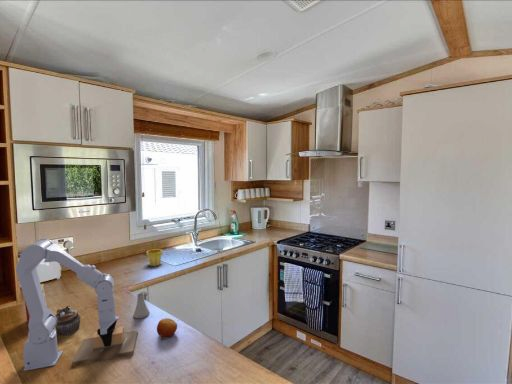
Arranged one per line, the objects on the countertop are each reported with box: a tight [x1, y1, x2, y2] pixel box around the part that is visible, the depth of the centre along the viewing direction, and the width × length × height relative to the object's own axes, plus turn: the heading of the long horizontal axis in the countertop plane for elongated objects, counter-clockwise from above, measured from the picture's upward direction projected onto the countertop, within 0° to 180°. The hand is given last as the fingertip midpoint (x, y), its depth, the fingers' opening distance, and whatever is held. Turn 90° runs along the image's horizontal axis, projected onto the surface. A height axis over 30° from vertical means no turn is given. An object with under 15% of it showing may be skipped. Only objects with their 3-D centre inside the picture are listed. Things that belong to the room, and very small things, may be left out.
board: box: [71, 329, 139, 367], centre depth 111 cm, size 20×14×2 cm
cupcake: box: [54, 305, 82, 337], centre depth 124 cm, size 10×10×10 cm
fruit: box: [156, 317, 178, 342], centre depth 119 cm, size 8×8×8 cm
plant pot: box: [146, 248, 163, 267], centre depth 204 cm, size 10×10×10 cm
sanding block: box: [91, 326, 125, 350], centre depth 111 cm, size 10×4×5 cm, turn 106°
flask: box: [133, 292, 150, 319], centre depth 136 cm, size 7×7×10 cm
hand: (109, 341), depth 111 cm, fingers closed on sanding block, 4 cm apart
